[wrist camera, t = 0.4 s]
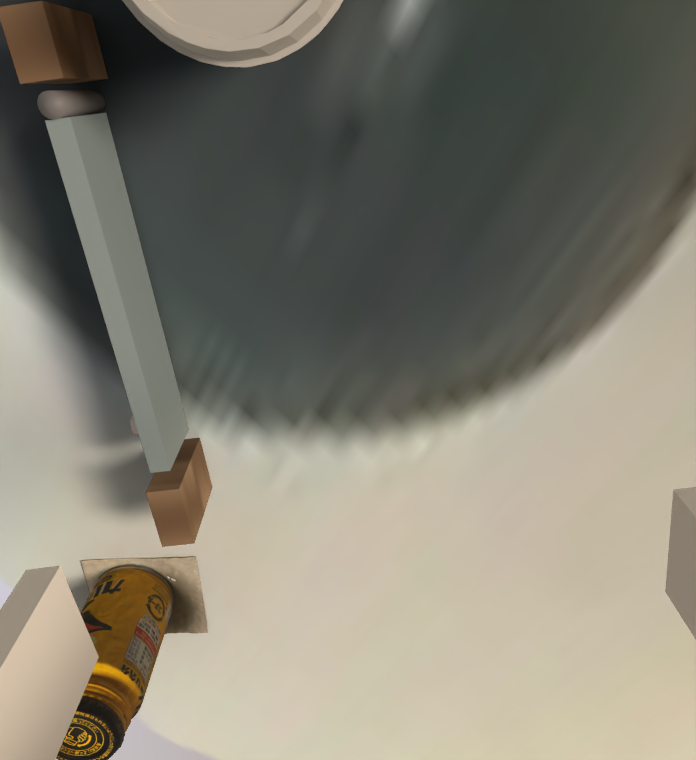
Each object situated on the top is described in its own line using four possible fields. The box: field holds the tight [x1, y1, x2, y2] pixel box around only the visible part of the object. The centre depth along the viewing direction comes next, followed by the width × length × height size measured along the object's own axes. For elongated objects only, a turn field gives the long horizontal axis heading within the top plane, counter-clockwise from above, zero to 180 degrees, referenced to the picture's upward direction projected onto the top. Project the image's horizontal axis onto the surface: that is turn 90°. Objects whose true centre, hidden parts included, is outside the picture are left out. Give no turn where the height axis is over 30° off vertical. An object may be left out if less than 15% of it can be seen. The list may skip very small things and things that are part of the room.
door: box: [37, 90, 189, 473], centre depth 36 cm, size 21×2×6 cm, turn 7°
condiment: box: [56, 557, 208, 760], centre depth 44 cm, size 7×8×12 cm
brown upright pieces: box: [0, 1, 212, 547], centre depth 36 cm, size 29×2×6 cm, turn 7°
